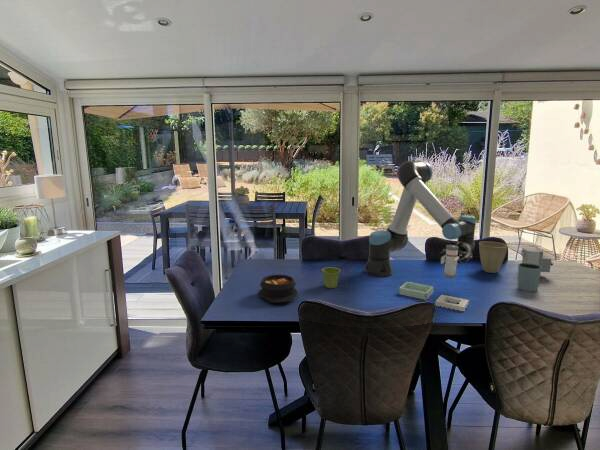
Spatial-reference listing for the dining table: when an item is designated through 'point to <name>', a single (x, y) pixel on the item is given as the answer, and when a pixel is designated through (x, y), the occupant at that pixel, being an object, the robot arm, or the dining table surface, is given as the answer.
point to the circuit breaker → (536, 258)
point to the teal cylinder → (528, 276)
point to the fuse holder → (461, 306)
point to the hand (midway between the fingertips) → (448, 262)
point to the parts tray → (416, 290)
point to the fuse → (450, 261)
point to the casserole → (278, 288)
